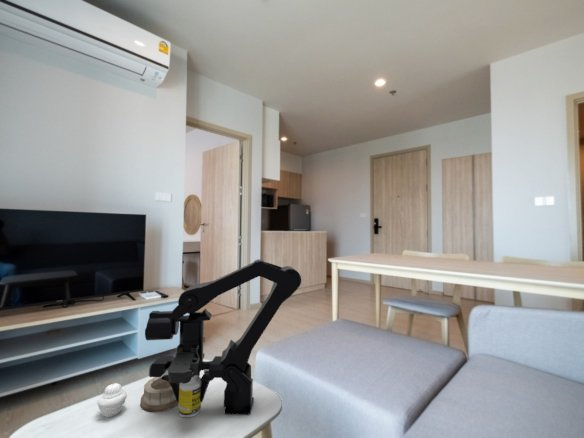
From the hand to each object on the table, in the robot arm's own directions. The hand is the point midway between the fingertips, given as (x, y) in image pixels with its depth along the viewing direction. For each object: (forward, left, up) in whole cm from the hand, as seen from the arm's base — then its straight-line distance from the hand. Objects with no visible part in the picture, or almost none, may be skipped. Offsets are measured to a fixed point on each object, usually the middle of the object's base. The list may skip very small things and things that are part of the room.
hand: (190, 400), depth 69 cm
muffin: (+19, +1, -3) cm, 19 cm away
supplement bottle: (0, 0, -3) cm, 3 cm away
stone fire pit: (+9, -5, -2) cm, 11 cm away
